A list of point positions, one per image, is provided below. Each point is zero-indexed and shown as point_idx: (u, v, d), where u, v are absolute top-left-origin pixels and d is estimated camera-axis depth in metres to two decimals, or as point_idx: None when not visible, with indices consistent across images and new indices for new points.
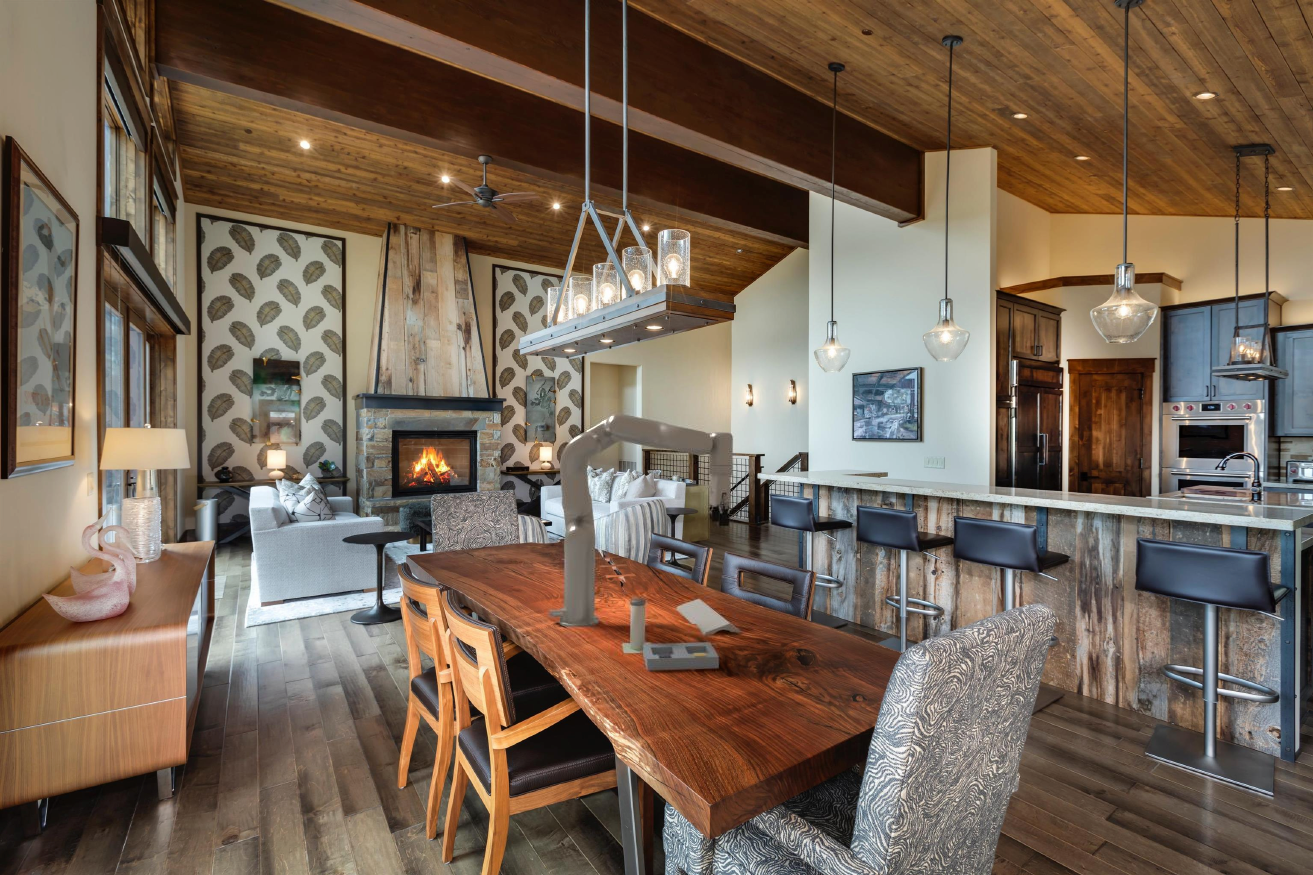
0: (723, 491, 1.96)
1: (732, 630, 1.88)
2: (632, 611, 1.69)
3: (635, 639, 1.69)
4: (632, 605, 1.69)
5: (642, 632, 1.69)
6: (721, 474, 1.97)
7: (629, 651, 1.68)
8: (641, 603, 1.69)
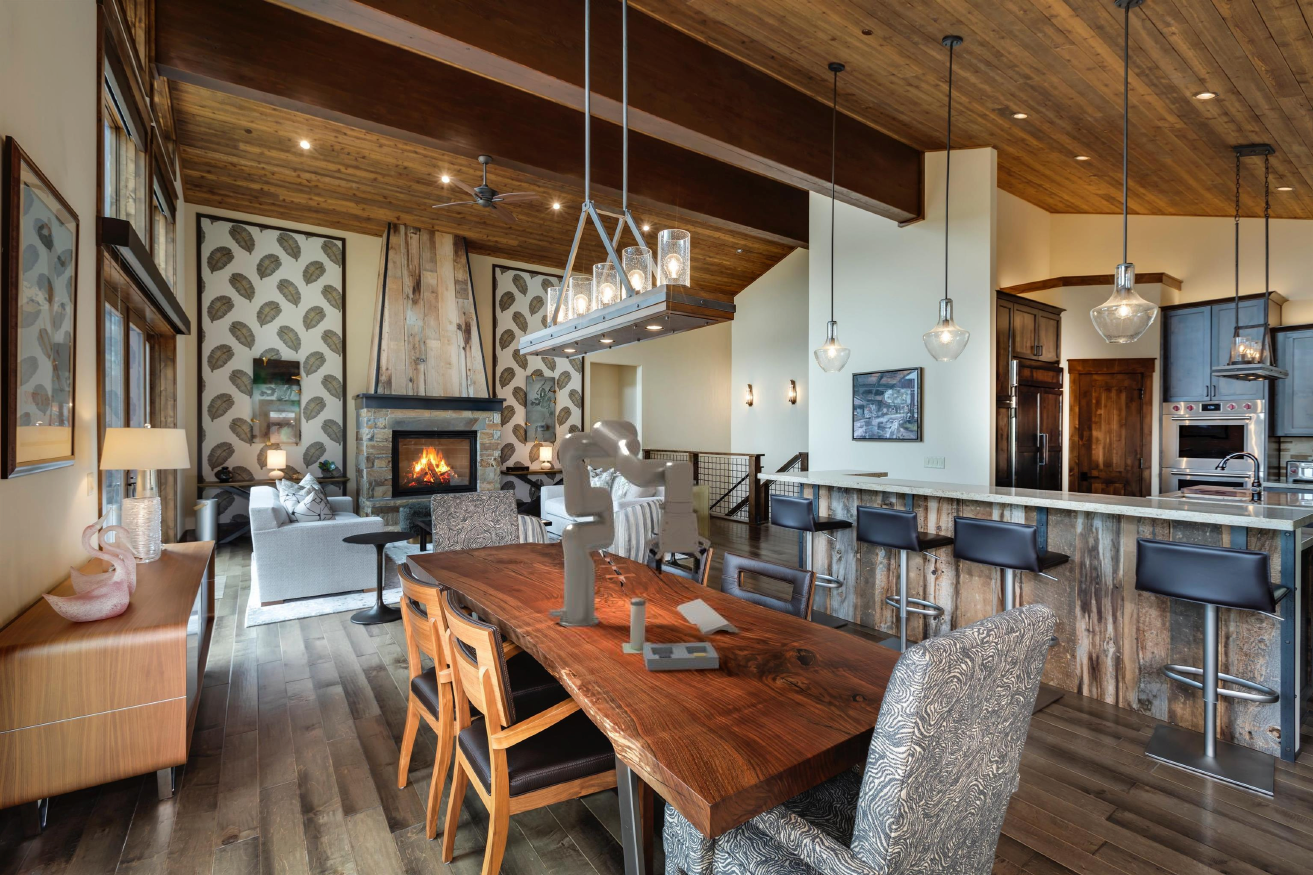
0: None
1: (731, 630, 1.88)
2: (632, 611, 1.69)
3: (635, 639, 1.69)
4: (632, 605, 1.69)
5: (643, 632, 1.69)
6: (692, 512, 1.64)
7: (629, 651, 1.68)
8: (641, 603, 1.69)
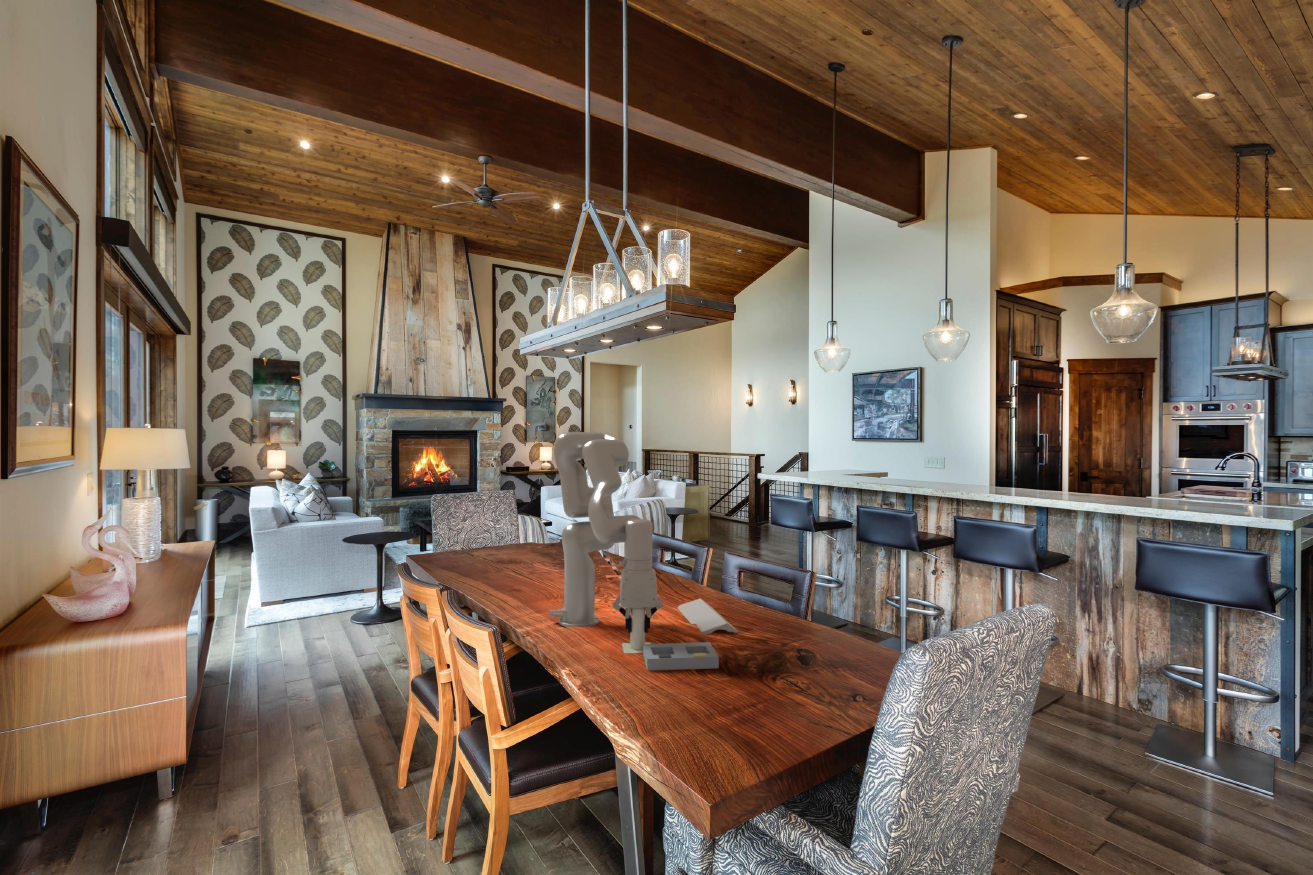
0: None
1: (729, 630, 1.88)
2: (632, 611, 1.69)
3: (635, 639, 1.69)
4: None
5: (642, 632, 1.69)
6: (652, 568, 1.70)
7: (629, 651, 1.68)
8: None
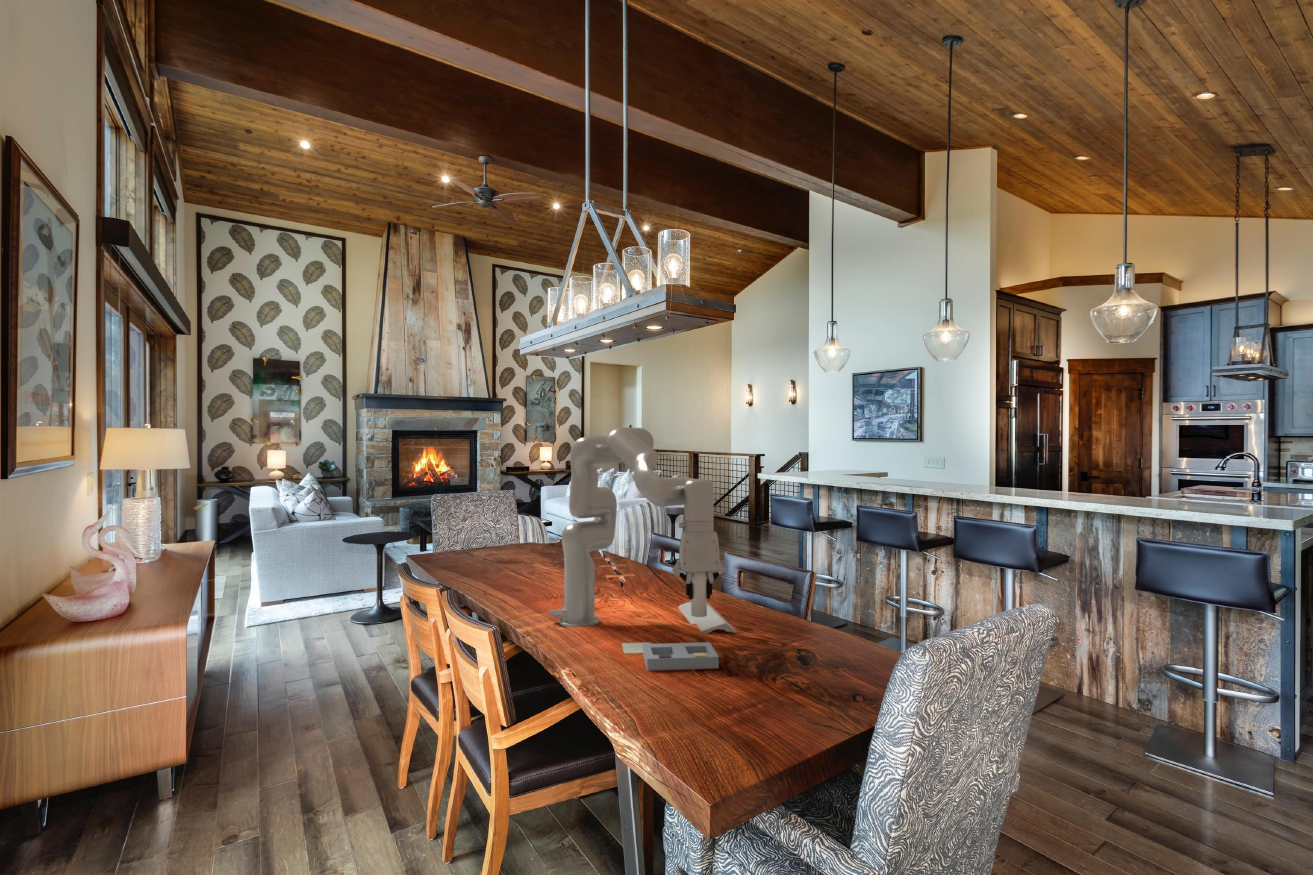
0: None
1: (728, 630, 1.88)
2: (693, 576, 1.60)
3: (697, 605, 1.59)
4: None
5: (705, 598, 1.60)
6: None
7: (629, 651, 1.68)
8: None
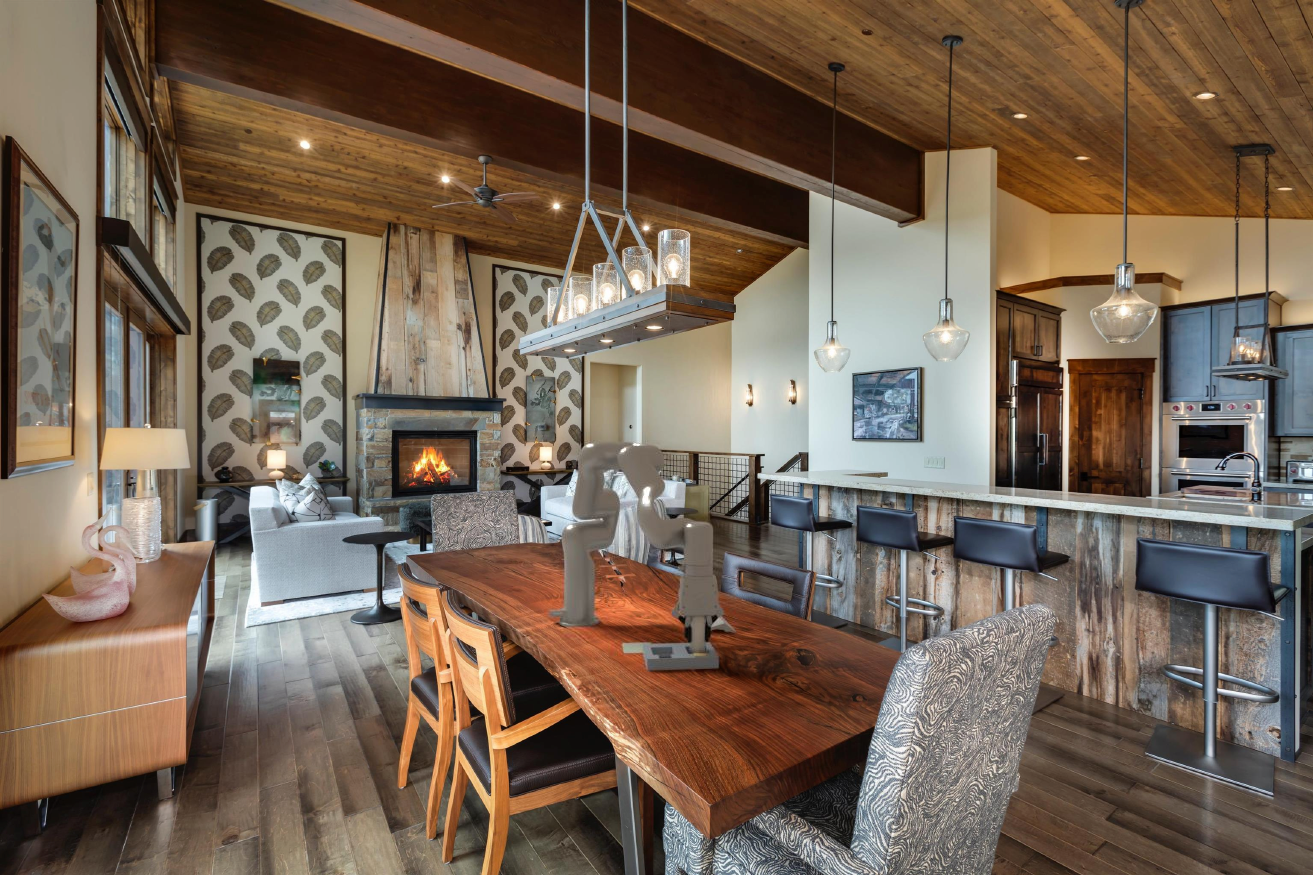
0: None
1: (727, 630, 1.89)
2: (692, 619, 1.60)
3: (695, 649, 1.59)
4: None
5: (703, 642, 1.60)
6: (712, 574, 1.61)
7: (629, 651, 1.68)
8: None
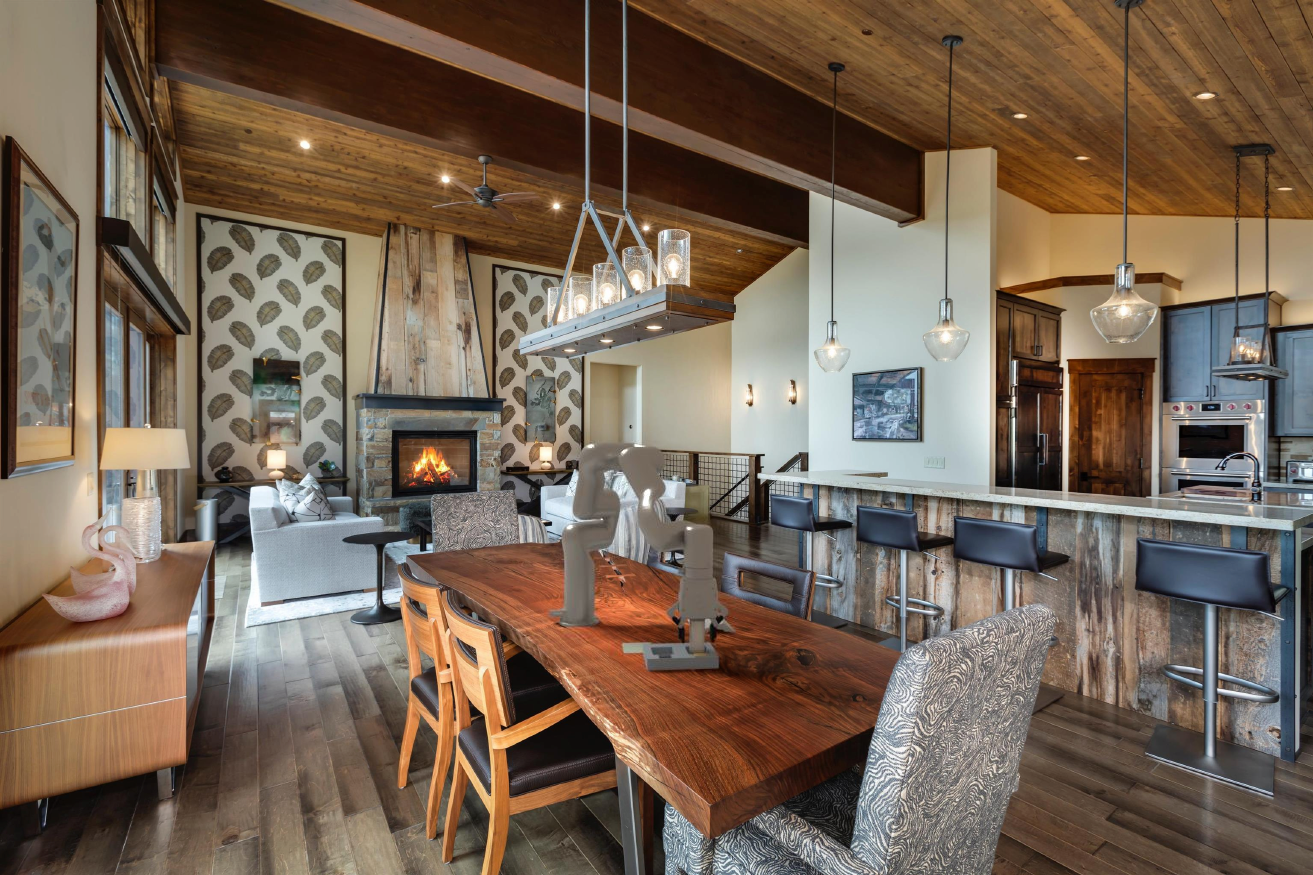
0: None
1: (726, 630, 1.89)
2: (691, 627, 1.60)
3: None
4: (691, 620, 1.60)
5: (703, 649, 1.60)
6: (712, 577, 1.61)
7: (629, 651, 1.68)
8: None
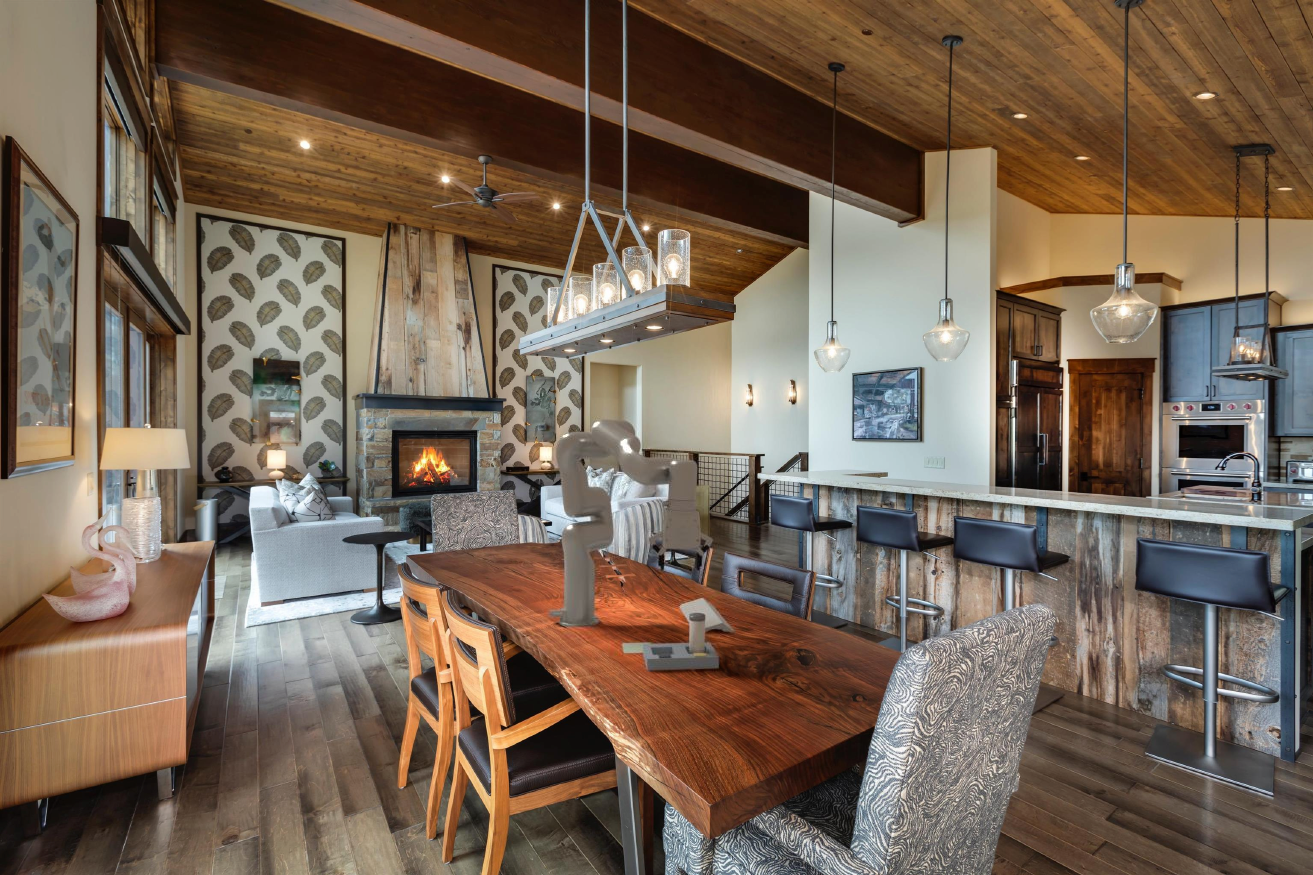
0: None
1: (725, 629, 1.89)
2: (691, 627, 1.60)
3: None
4: (691, 620, 1.60)
5: (703, 649, 1.60)
6: (695, 510, 1.67)
7: (629, 651, 1.68)
8: (701, 618, 1.60)
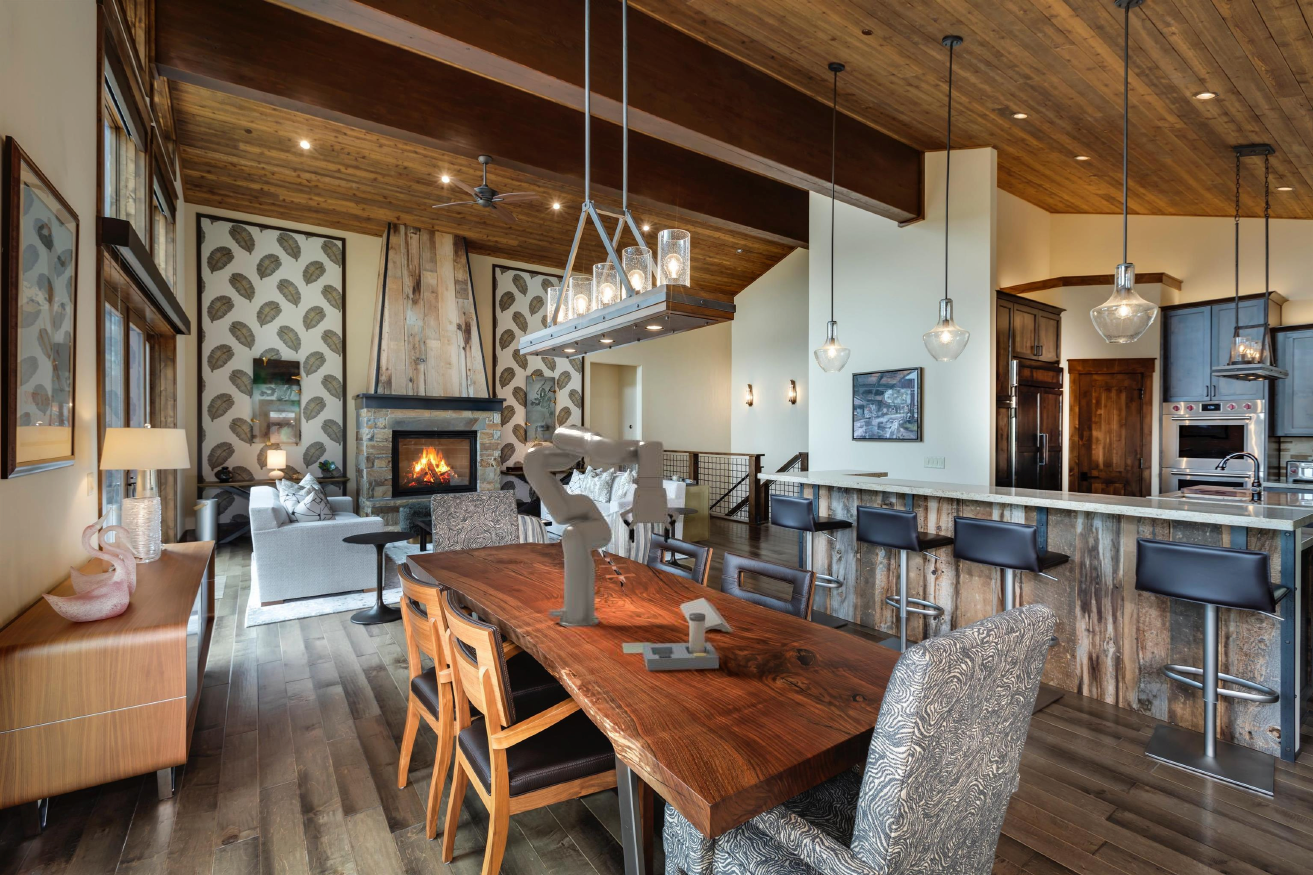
0: None
1: (724, 629, 1.89)
2: (691, 627, 1.60)
3: None
4: (691, 620, 1.60)
5: (703, 649, 1.60)
6: (662, 486, 1.81)
7: (629, 651, 1.68)
8: (701, 618, 1.60)
